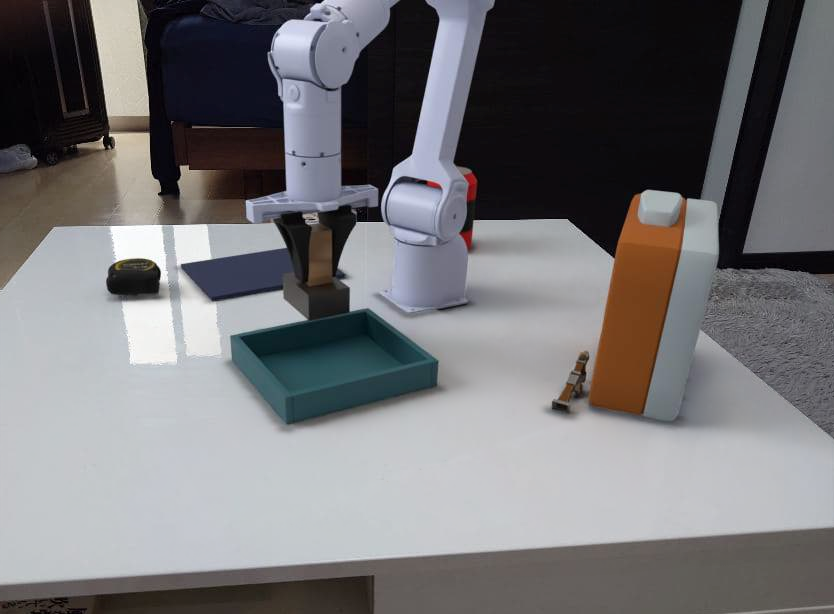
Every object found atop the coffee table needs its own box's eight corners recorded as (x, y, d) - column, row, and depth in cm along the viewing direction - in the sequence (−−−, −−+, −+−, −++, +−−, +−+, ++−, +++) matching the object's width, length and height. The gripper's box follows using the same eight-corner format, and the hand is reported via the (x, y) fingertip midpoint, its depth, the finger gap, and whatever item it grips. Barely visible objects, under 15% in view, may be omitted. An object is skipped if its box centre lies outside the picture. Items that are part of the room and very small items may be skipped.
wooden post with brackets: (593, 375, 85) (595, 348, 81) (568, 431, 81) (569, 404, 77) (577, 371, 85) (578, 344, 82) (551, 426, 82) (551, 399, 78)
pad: (304, 248, 122) (304, 244, 122) (345, 277, 111) (345, 273, 111) (181, 267, 114) (180, 263, 113) (211, 301, 103) (211, 297, 103)
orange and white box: (605, 340, 95) (638, 170, 84) (681, 352, 92) (724, 178, 82) (585, 411, 80) (622, 215, 70) (675, 428, 77) (727, 227, 67)
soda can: (417, 240, 126) (421, 165, 120) (461, 237, 128) (467, 163, 122) (432, 255, 120) (437, 177, 114) (478, 252, 122) (485, 175, 116)
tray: (367, 333, 95) (368, 307, 93) (436, 389, 83) (438, 360, 82) (231, 363, 88) (229, 335, 86) (286, 428, 76) (285, 397, 74)
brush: (322, 291, 91) (321, 216, 87) (349, 312, 86) (350, 234, 81) (283, 298, 89) (280, 221, 84) (309, 321, 84) (307, 240, 79)
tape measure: (107, 302, 102) (103, 275, 100) (115, 282, 108) (111, 257, 106) (160, 300, 103) (156, 273, 101) (164, 281, 109) (161, 255, 107)
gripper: (261, 167, 73) (268, 301, 80) (394, 152, 79) (389, 278, 86) (235, 151, 78) (243, 278, 85) (361, 139, 84) (359, 258, 91)
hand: (315, 277), depth 86 cm, fingers closed on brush, 3 cm apart
